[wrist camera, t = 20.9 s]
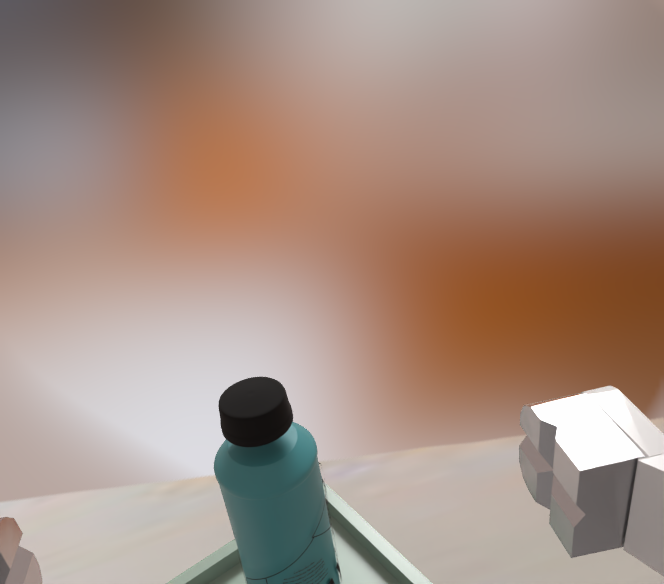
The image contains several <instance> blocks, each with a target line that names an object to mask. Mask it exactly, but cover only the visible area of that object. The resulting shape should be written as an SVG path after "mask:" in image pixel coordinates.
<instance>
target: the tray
mask: <svg viewBox="0 0 664 584" xmlns="http://www.w3.org/2000/svg"><path fill="white" fill-rule="evenodd" d="M324 485H325V486H326V487H325V488H326V491H327V493H326V495H325V496H327V497H328V498H327V499H328V501H327V499H326V502H327V503H328V505H327V504H326V505H327V507H328V508H329V510H328V509H327V511H328V514H330V515H331V519H330V515H329V521H330V523H332V525H330V526H332V527H330V528H331V530H332V531H331V534H332V539H333V545H334V548H335V550H334V551H336V552H337V553H336V552H335V554H336V555H337V557H336V562H337V559H338V562H339V564H338V565H339V566H340V571H341V577H342V578H341V577H340V573H339V572H338V573H339V579H340V578H341V579H340V584H432V583H431V582H430V581H429V580H428V579H427V578H426V577H425V576H424V575H423V574H422V573H421V572H420V571H419V570H417V569H416V568H415V567H414V566H413V565H412V564H411V563H410V562H409V561H408V560H407V559H406V558H405V557H404V556H403V555H401V554H400V553H399V552H398V551H397V550H396V549H395V548H394V547H393V546H392V545H391V544H390V543H389V542H388V541H386V540H385V539H384V538H383V537H382V536H381V535H380V534H379V533H378V532H377V531H376V530H375V529H374V528H373V527H371V526H370V525H369V524H368V523H367V522H366V521H365V520H364V519H363V518H362V517H361V516H360V515H359V514H358V513H357V512H355V511H354V510H353V509H352V508H351V507H350V506H349V505H348V504H347V503H346V502H345V501H344V500H343V499H342V498H340V497H339V496H338V495H337V494H336V493H335V492H334V491H333V490H332V489H331V488H330V487H329V486H328V485H327V484H324V482H323V488H324ZM325 488H324V490H325ZM324 494H325V491H324ZM325 498H326V497H325ZM332 528H333V529H332ZM333 531H334V532H333ZM332 532H333V533H332ZM335 543H336V544H335ZM238 555H239V556H238ZM336 555H335V556H336ZM239 559H240V560H239ZM240 562H241V557H240V554H239V550H238V547H237V543H236V540H235V539H234V540H232V541H231V542H229V543H228V544H226V545H225V546H223V547H221V548H220V549H218V550H217V551H215V552H214V553H212V554H211V555H209V556H208V557H206V558H205V559H203V560H201V561H200V562H198V563H197V564H195V565H194V566H192V567H191V568H189V569H188V570H186V571H185V572H183V573H181V574H180V575H178V576H177V577H175V578H174V579H172V580H171V581H169V582H168V583H166V584H246V583H247V581H245V580H246V577H244V576H245V574H243V573H244V570H242V569H243V566H242V562H241V563H240ZM241 566H242V567H241ZM341 580H342V581H341Z"/></svg>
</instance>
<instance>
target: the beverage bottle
mask: <svg viewBox="0 0 664 584" xmlns="http://www.w3.org/2000/svg"><path fill="white" fill-rule="evenodd" d="M219 412H220V418H221V428H222V432H223V435H224V437H225V438H226V440H225V441H224V443H223V444H222V445H221V447H220V448H219V450H218V452H217V454H216V457H215V462H214V471H215V475H216V479H217V481H218V483H219V485H220V488H221V492H222V495H223V499H224V502H225V506H226V509H227V512H228V516H229V519H230V523H231V526H232V530H233V533H234V537H235V540H236V543H237V547H238V550H239V554H240V557H241V562H242V566H243V569H242V570H244V573H243V574H245V576H244V577H246V580H245V581H247V583H246V584H340V579H341V578H342V577H341V571H340V566H339V565H338V564H339V562H338V559H337V562H336V557H337V555H336V554H335V552H336V551H334V550H335V548H334V545H333V539H332V534H331V531H332V530H331V528H330V527H332V526H330V525H332V523H330V521H329V515H330V514H328V511H327V509H328V510H329V508H328V507H327V505H328V503H327V502H326V499H327V498H328V497H327V496H325V495H326V493H327V491H326V488H325V487H326V486H325V485H324V488H325V490H324V488H323V482H324V481H323V479H322V477H321V473H320V468H319V464H320V463H318V458H317V446H316V442H315V440H314V438H313V436H312V435H311V433H310V432H309V431H308V430H307V429H305V428H304V427H302V426H301V425H299V424H297V423H294V422H292V421H293V414H292V409H291V405H290V403H289V401H288V398H287V394H286V391H285V388H284V387H283V386H282V384H281V383H280V382H278V381H277V380H275V379H272V378H268V377H253V378H248V379H245V380H242V381H239V382H237V383H235V384H233V385H232V386H230V387H229V388H228V389H227V390H225V391H224V393H223V394H222V395H221V397H220V400H219ZM320 465H321V464H320ZM324 480H325V479H324ZM324 484H325V483H324ZM324 491H325V494H324ZM325 497H326V498H325ZM327 501H328V499H327ZM326 504H327V505H326ZM330 519H331V515H330ZM332 529H333V528H332ZM333 532H334V531H333ZM333 532H332V533H333ZM335 544H336V543H335ZM336 553H337V552H336ZM335 555H336V556H335ZM238 556H239V555H238ZM239 560H240V559H239ZM241 562H240V563H241ZM242 566H241V567H242ZM338 572H339V573H340V577H341V578H340V579H339V573H338ZM341 581H342V580H341Z"/></svg>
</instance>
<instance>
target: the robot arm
mask: <svg viewBox="0 0 664 584" xmlns="http://www.w3.org/2000/svg"><path fill="white" fill-rule="evenodd" d="M520 425H521V427H522V429H523V430H524V431H525V433H526V434H527V436H526V437H525V439H524V440H523V441H522V443H521V444H520V445H519V462H520V466H521V471H522V475H523V478H524V481H525V483H526V485H527V488H528V490H529V492H530V493H531V495H532V496H533V498H534V500H535V501H536V502H537V503H539V504H541V505H542V506H544V507H546V508H548V509H550V522H549V524H550V525H551V527H552V529H553V530H554V532H555V533H556V535H557V536H558V538H559V540H560V541H561V543H562V544H563V546H564V547H565V549H566V551H567V552H568V554H569V555H570V557H571V558H573V557H578V556H582V555H587V554H592V553H597V552H601V551H606V550H611V549H615V548H620V547H624V549H623V550H625V551H626V552H628V553H629V554H631V555H632V556H634V557H635V558H637V559H638V560H640V561H641V562H643V563H644V564H646V565H647V566H649V567H650V568H652V569H653V570H655V571H656V572H658V573H659V574H661V575H662V576H664V434H663V433H662V432H661V431H660V430H659V429H658V428H657V427H656V426H655V425H654V424H653V423H652V422H651V421H650V420H649V419H648V418H647V417H646V416H645V415H644V414H643V413H642V412H641V411H640V410H639V409H638V408H637V407H636V406H635V405H634V404H633V403H631V401H629V400H628V399H627V398H626V397H625V396H624V395H623V394H622V393H621V392H620V391H619V390H618V389H617V388H614V387H612V386H607V387H602V388H598V389H593V390H589V391H585V392H582V393H580V394H573V395H569V396H565V397H560V398H555V399H551V400H547V401H542V402H538V403H533V404H529V405H524V406H523V408H522V411H521V415H520ZM22 534H23V533H22V531H21V529H20V528H19V526H18V524H17V523H16V521H15V519H14V518H9V517H3V518H0V584H42V576H41V571H40V567H39V564H38V562H37V560H36V558H35V556H34V554H33V553H32V552H30V551H28V550H26V549H24V548H22V547H20V546H19V543H20V540H21V537H22Z"/></svg>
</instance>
